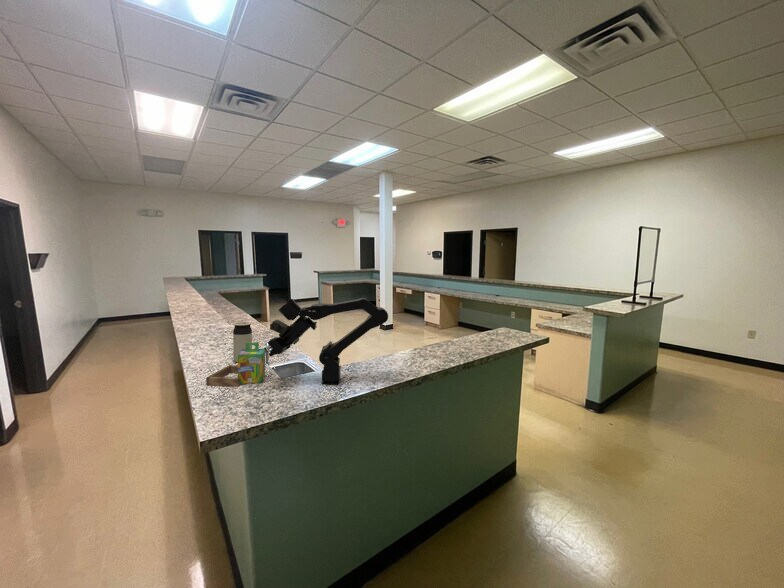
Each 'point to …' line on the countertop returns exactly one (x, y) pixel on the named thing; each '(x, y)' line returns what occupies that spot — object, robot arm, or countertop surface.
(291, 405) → the countertop surface
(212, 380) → the block
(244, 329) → the travel mug
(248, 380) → the chalk box
